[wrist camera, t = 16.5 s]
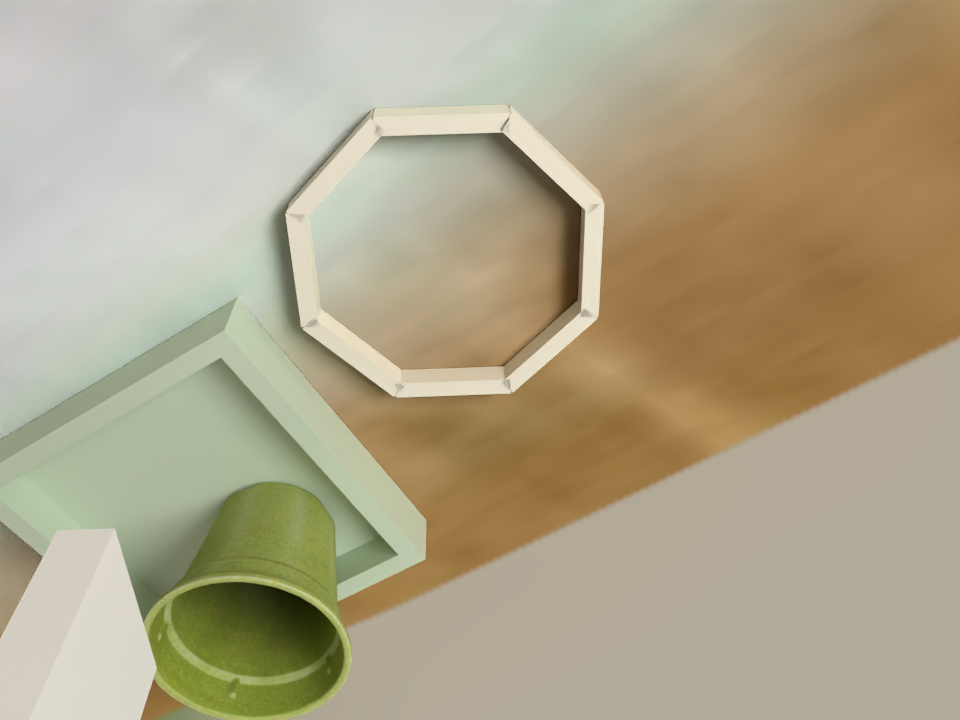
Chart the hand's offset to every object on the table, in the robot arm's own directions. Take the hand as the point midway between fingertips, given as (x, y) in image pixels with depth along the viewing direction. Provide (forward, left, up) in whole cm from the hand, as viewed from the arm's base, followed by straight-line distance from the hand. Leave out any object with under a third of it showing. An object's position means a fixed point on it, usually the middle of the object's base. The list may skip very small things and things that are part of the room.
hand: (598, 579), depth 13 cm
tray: (-15, -21, -29) cm, 39 cm away
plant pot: (-12, -23, -28) cm, 38 cm away
